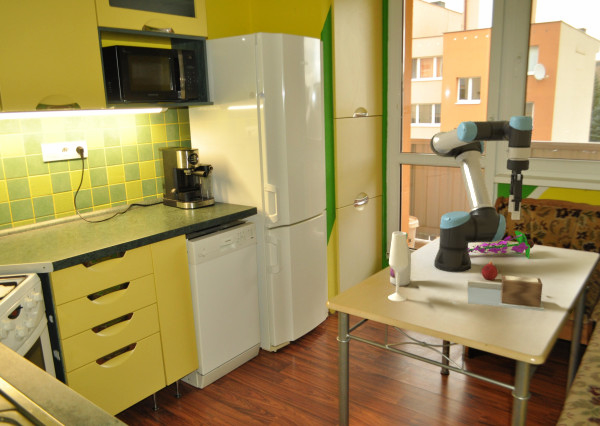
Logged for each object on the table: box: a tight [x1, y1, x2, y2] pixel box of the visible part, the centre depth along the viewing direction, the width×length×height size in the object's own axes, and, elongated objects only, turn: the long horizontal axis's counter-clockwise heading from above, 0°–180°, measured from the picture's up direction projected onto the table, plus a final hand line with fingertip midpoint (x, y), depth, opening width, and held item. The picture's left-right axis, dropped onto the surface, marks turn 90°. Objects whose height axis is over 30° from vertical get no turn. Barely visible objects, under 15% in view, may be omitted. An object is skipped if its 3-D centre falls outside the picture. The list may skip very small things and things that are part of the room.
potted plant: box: [468, 230, 535, 259], centre depth 226 cm, size 12×16×35 cm
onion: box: [481, 261, 499, 281], centre depth 193 cm, size 6×6×8 cm
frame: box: [501, 274, 543, 307], centre depth 169 cm, size 12×6×8 cm, turn 72°
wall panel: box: [467, 279, 546, 312], centre depth 174 cm, size 24×18×3 cm
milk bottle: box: [389, 232, 412, 287], centre depth 191 cm, size 8×8×20 cm
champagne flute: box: [387, 231, 408, 302], centre depth 176 cm, size 7×7×24 cm
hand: (513, 215), depth 186 cm, fingers open, 13 cm apart
